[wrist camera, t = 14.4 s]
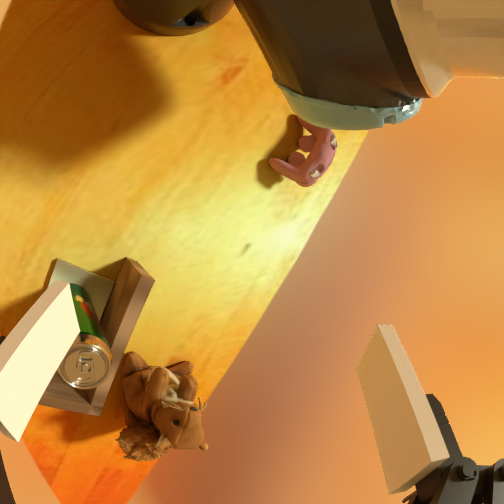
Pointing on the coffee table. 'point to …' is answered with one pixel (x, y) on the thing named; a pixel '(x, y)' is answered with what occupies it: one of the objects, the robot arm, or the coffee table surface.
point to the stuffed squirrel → (159, 409)
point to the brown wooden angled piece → (112, 322)
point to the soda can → (86, 347)
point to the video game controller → (316, 162)
